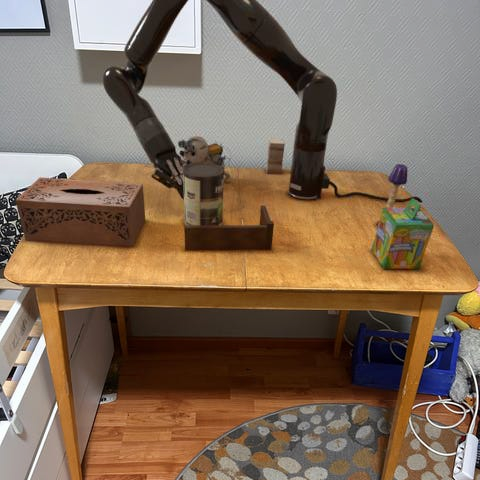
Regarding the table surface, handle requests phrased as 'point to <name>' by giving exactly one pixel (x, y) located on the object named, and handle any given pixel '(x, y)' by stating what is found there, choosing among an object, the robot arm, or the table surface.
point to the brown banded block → (275, 156)
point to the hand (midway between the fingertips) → (188, 198)
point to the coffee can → (203, 194)
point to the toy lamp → (396, 183)
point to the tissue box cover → (82, 212)
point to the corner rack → (231, 235)
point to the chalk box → (402, 237)
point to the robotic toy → (202, 152)
